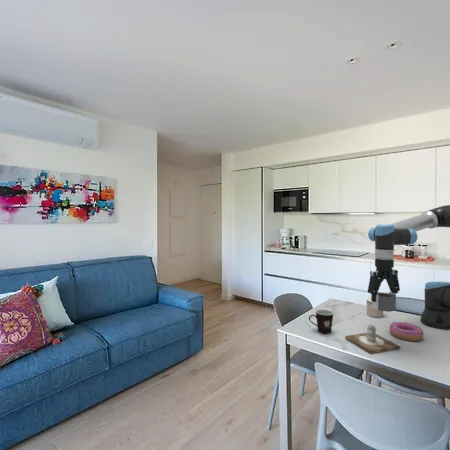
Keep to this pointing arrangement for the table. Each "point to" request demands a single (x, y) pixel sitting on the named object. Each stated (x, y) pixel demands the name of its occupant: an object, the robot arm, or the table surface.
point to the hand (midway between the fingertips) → (383, 307)
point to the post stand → (372, 341)
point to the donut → (406, 331)
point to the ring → (386, 302)
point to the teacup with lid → (373, 310)
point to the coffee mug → (323, 321)
